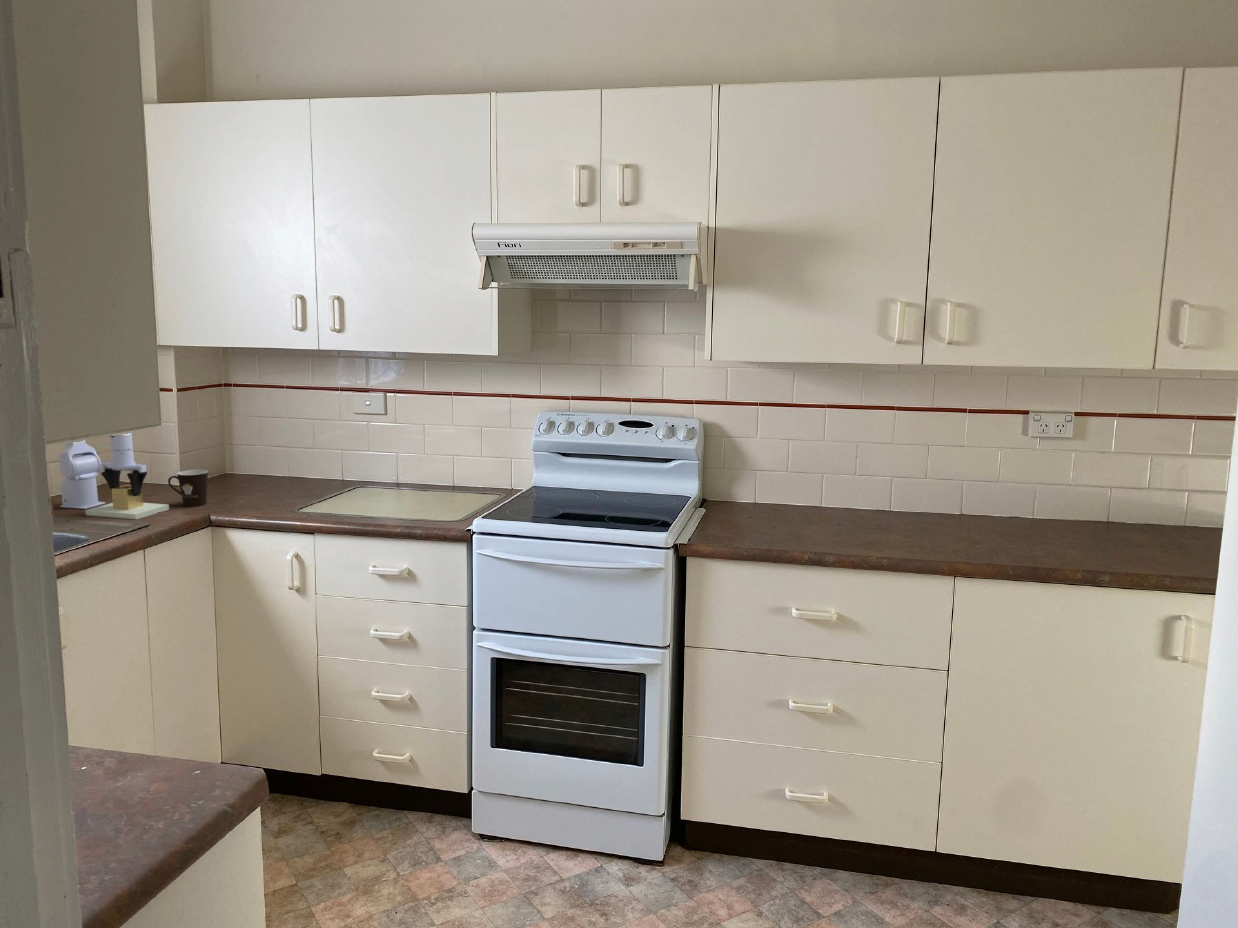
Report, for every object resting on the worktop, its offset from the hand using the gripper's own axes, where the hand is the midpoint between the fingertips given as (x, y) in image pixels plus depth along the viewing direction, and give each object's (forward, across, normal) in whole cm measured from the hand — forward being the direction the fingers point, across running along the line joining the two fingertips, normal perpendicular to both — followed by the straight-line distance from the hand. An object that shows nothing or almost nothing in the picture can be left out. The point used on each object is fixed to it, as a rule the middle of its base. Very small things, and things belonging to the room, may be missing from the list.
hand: (126, 494), depth 279 cm
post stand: (+5, 0, 0) cm, 5 cm away
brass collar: (+4, 0, 0) cm, 4 cm away
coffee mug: (+6, -10, -15) cm, 19 cm away
